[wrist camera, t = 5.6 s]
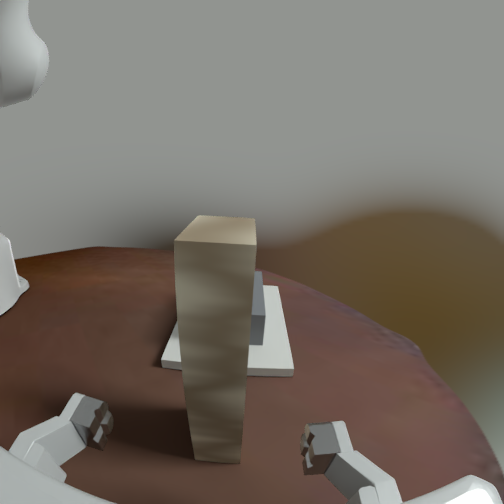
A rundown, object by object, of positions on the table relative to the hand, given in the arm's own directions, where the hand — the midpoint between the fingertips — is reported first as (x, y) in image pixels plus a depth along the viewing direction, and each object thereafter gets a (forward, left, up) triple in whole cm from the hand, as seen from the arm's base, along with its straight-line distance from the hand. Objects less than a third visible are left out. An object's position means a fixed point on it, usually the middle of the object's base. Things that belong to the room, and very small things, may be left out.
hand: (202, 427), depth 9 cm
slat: (-3, +5, -8) cm, 10 cm away
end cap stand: (-11, +19, -8) cm, 23 cm away
